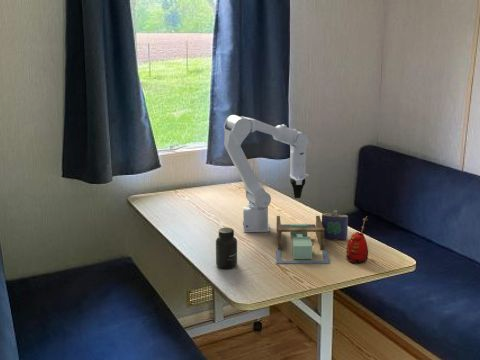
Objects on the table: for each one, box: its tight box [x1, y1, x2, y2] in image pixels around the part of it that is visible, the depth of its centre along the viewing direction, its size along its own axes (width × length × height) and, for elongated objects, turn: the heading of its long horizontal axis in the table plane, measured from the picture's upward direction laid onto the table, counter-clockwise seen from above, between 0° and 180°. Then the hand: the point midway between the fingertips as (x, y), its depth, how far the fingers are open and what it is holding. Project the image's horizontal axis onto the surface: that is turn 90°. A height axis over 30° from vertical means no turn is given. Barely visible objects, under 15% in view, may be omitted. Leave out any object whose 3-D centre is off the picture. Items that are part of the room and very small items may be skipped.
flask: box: [321, 209, 349, 241], centre depth 189 cm, size 9×3×11 cm, turn 74°
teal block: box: [289, 223, 313, 260], centre depth 183 cm, size 6×20×5 cm, turn 178°
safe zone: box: [275, 249, 331, 265], centre depth 176 cm, size 17×10×1 cm, turn 88°
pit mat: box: [281, 223, 316, 228], centre depth 201 cm, size 14×6×1 cm, turn 88°
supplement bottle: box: [215, 227, 238, 270], centre depth 169 cm, size 7×7×12 cm
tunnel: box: [276, 215, 325, 251], centre depth 188 cm, size 16×16×7 cm
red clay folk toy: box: [345, 216, 369, 264], centre depth 171 cm, size 8×7×15 cm
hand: (297, 197), depth 205 cm, fingers closed
